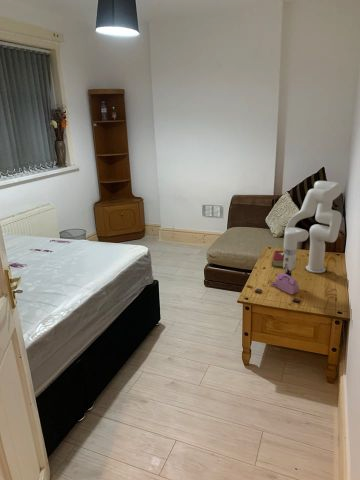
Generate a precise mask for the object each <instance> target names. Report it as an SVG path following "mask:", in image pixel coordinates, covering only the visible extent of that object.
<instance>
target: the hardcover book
mask: <svg viewBox="0 0 360 480" xmlns="http://www.w3.org/2000/svg"><path fill="white" fill-rule="evenodd" d="M283 251H284V250H277V249H274V252H273V257H272V261H271V266H272V267H276V268H283V262H284V255H285V254H284V253H283Z"/></svg>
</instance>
